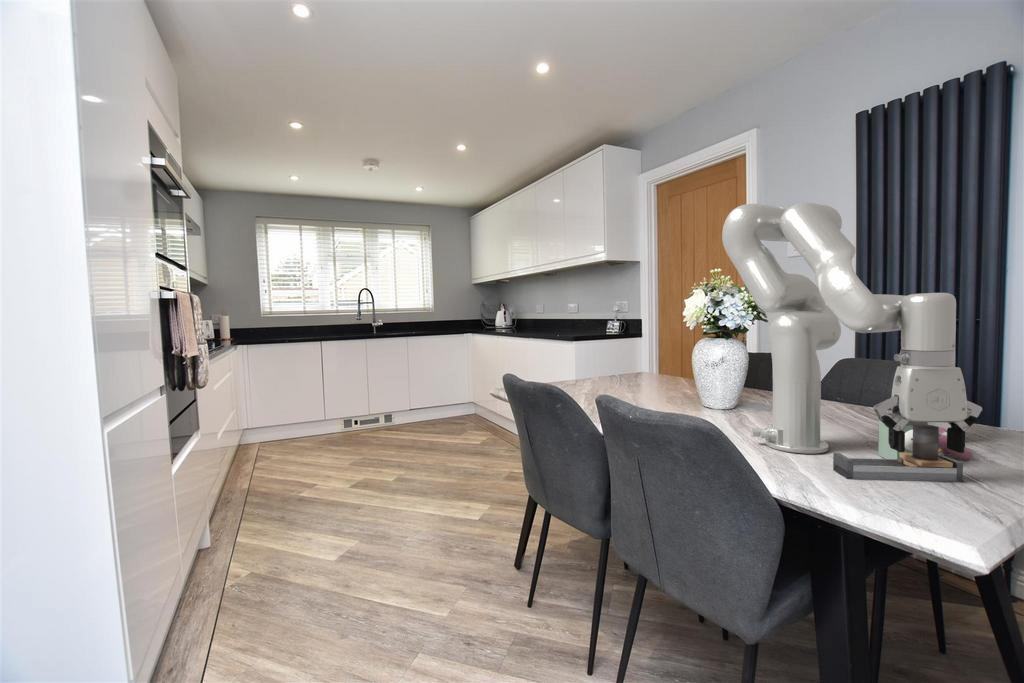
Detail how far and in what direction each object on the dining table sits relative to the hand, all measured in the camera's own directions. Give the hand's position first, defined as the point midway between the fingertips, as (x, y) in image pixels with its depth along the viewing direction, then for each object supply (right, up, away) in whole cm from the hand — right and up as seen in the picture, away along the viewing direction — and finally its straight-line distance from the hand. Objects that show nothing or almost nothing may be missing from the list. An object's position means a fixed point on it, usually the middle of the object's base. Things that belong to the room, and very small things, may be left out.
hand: (925, 450), depth 86 cm
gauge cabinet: (+4, -4, +10) cm, 12 cm away
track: (-5, -5, +1) cm, 7 cm away
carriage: (0, -3, 0) cm, 3 cm away
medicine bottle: (+26, -3, +26) cm, 36 cm away
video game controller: (+16, -4, +14) cm, 22 cm away
